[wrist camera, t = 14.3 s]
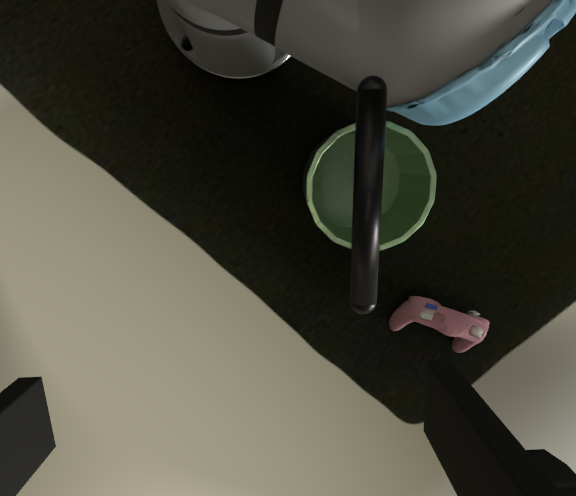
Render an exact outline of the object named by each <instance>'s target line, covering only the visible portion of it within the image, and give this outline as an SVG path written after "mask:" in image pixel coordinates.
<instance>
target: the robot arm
mask: <svg viewBox="0 0 576 496" xmlns="http://www.w3.org/2000/svg"><path fill="white" fill-rule="evenodd" d="M157 4H158V9H159V13H160V16H161V19H162V21H163V24H164V26H165V28H166V30H167V32H168V34H169V36H170V38H171V39H172V41H173V42H174V44H175V45H176V46H177V48H178V49H179V50H180V51H181V52H182V53H183V54H184V55H185V56H186V57H187V58H188V59H189V60H190V61H191V62H192V63H193V64H194V65H196V66H197V67H198V68H200V69H201V70H203V71H205V72H206V73H208V74H210V75H212V76H215V77H218V78H221V79H225V80H230V81H251V80H256V79H260V78H263V77H265V76H268V75H270V74H272V73H274V72H276V71H277V70H279V69H280V68H282V67H283V66H284V65H285V64H287V63H288V62H289V61H290V60H291V59H292V58H293V57H294V58H296V59H297V60H299V61H301V62H303V63H305V64H307V65H309V66H310V67H312V68H314V69H316V70H318V71H320V72H322V73H323V74H325V75H327V76H329V77H331V78H333V79H334V80H336V81H338V82H340V83H342V84H344V85H346V86H347V87H349V88H351V89H353V90H355V91H357V88H358V85H359V83H360V82H361V81H362V80H363V79H364V78H366V77H367V76H371V75H375V76H379V77H381V78H382V79H383V80H384V81H385V83H386V85H387V110H388V111H394V112H397V113H399V114H401V115H403V116H405V117H407V118H409V119H411V120H413V121H415V122H418V123H420V124H423V125H433V126H436V125H445V124H449V123H453V122H455V121H458V120H461V119H463V118H465V117H467V116H469V115H471V114H473V113H474V112H476V111H478V110H479V109H481V108H482V107H484V106H485V105H487V104H488V103H490V102H491V101H492V100H494V99H495V98H496V97H498V96H499V95H500V94H502V93H503V92H504V91H505V90H506V89H508V88H509V87H510V86H511V85H512V84H514V83H515V82H516V81H517V80H518V79H519V78H520V77H521V76H522V75H523V74H524V73H526V72H527V71H528V70H529V69H530V68H531V67H532V66H533V64H534V63H535V62H536V61H537V60H538V59H539V58H540V57H541V56H542V55H543V54H544V53H545V51H546V50H547V49H548V48H549V39H550V38H551V37H552V36H553V35H554V34H555V33H557V32H558V31H559V30H561V29H562V28H564V27H565V26H566V25H567V24H568V23H569V21H570V20H571V18H572V17H573V15H574V14H575V12H576V0H157ZM424 432H425V434H426V436H427V438H428V440H429V442H430V444H431V446H432V448H433V450H434V451H435V453H436V455H437V457H438V459H439V461H440V463H441V465H442V467H443V469H444V470H445V473H446V474H447V476H448V478H449V480H450V482H451V484H452V486H453V488H454V490H455V492H456V494H457V496H576V474H575V473H574V472H573V471H572V470H571V469H570V467H569V466H568V465H567V464H565V463H564V462H562V461H561V460H559V459H558V458H556V457H555V456H553V455H552V454H550V453H549V452H547V451H546V450H544V449H543V450H542V449H540V450H525V449H524V448H523V446H521V444H520V443H519V442H518V440H517V439H516V438H515V437H514V436H513V435H512V433H511V432H510V431H509V430H508V429H507V428H506V426H505V425H504V424H503V423H502V421H501V420H500V419H499V418H498V417H497V416H496V415H495V413H494V412H493V411H492V410H491V409H490V408H489V406H488V405H487V404H486V403H485V401H484V400H483V399H482V398H481V397H480V395H479V394H478V393H477V392H476V391H475V389H474V388H473V387H472V386H471V385H470V383H469V382H468V381H467V380H466V379H465V378H464V376H463V375H462V374H461V373H460V372H459V370H458V369H457V368H456V367H455V366H454V364H453V363H452V362H451V361H450V360H449V359H443V360H427V362H426V387H425V411H424ZM55 447H56V445H55V440H54V436H53V431H52V426H51V421H50V416H49V411H48V406H47V402H46V397H45V392H44V387H43V382H42V378H41V377H28V378H27V377H26V378H18V379H17V380H16V381H14V382H13V383H12V384H11V385H9V386H8V387H7V388H6V389H4V390H3V391H2V392H1V393H0V496H16V495H17V494H18V492H19V491H20V490H21V488H22V487H23V486H24V485H25V484H26V482H27V481H28V480H29V478H31V476H32V475H33V474H34V473H35V471H36V470H37V469H38V468H39V466H40V465H41V464H42V463H43V462H44V460H45V459H46V458H47V457H48V455H49V454H50V453H51V452H52V450H53V449H54V448H55Z"/></svg>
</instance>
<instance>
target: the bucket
mask: <svg viewBox="0 0 576 496" xmlns="http://www.w3.org/2000/svg"><path fill="white" fill-rule="evenodd" d="M386 110H387V85H386V83H385V81H384V80H383V79H382V78H381V77H379V76H375V75H371V76H367V77H366V78H364V79H363V80H362V81H361V82H360V83H359V85H358V88H357V96H356V123H354V124H352V125H349V126H347V127H345V128H342V129H340V130H338V131H336V132H334V133H333V134H331V135H330V136H328V137H326V138H325V139H324V140H323V141H322V142H321V143H320V144H319V145H318V146H317V147H316V148H315V149H314V150H313V151H312V152H311V154H310V156H309V158H308V161H307V163H306V166H305V168H304V170H303V194H304V196H305V199H306V202H307V204H308V207H309V209H310V212H311V214H312V216H313V219H314V221H315V224H316V225H317V226H318V227H319V228H320V229H321V230H322V231H323V232H324V233H325V234H326V235H327V236H328V237H329V238H330V239H331V240H332V241H334V242H335V243H337V244H340V245H342V246H345V247H347V248H350V249H351V274H350V305H351V307H352V309H353V310H354V311H355V312H357V313H359V314H368V313H370V312H372V311H373V310H374V308H375V306H376V303H377V285H378V266H379V251H380V250H384V249H386V248H389V247H391V246H394V245H396V244H399V243H401V242H403V241H405V240H406V239H407V238H408V237H409V236H410V235H412V234H413V233H414V232H415V231H416V230H417V229H418V228H419V227H420V226H421V225H422V223H424V221H425V219H426V217H427V215H428V213H429V211H430V209H431V207H432V205H433V203H434V201H433V200H435V188H436V172H435V169H434V165H433V162H432V159H431V156H430V153H429V151H428V149H427V148H426V147H425V146H424V145H423V143H422V142H421V141H420V140H419V139H418V138H417V137H416V136H415V135H414V133H413V132H411V131H410V130H408V129H406V128H403V127H401V126H399V125H396V124H394V123H392V122H390V121H386Z"/></svg>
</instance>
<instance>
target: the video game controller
mask: <svg viewBox="0 0 576 496" xmlns="http://www.w3.org/2000/svg"><path fill="white" fill-rule="evenodd" d="M468 313H470V314H464V313H461V312H458V311H455V310H452V309H449V308H446V307H442V306H441V304H440V303H438V302H436V301H434V300H432V299H428V298H424V297H419V296H410V297H409V299H408V300H407V301H406V302H404V303H403V304H402V305H400V306H399V307H398V308H397V309H396V310H395V311H394V313H393V314H392V316H391V318H390V320H389V325H390V328H391V330H393V331H397V330H400V329H401V328H403V327H404V326H406V325H407V324H409V323H411V322H418V323H421V324H423V325H426V326H429V327H432V328H435V329H436V330H438V331H439V332H441V333H443V334H444V335H447V336H452V337H455V338H454V340H453V343H452V348H453V350H454V351H455V352H458V353H461V352H465V351H466V350H468V349H469V348H471V347H472V346H474V345H475V344H477V343H479V342H481V341H482V340H483V339H484V337H485V336H486V333H487V331H488V327H489V321H488V320H486V319H484V318H481V317H478V316H477V315H480V314H479V313H478V312H476V311H468Z"/></svg>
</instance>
